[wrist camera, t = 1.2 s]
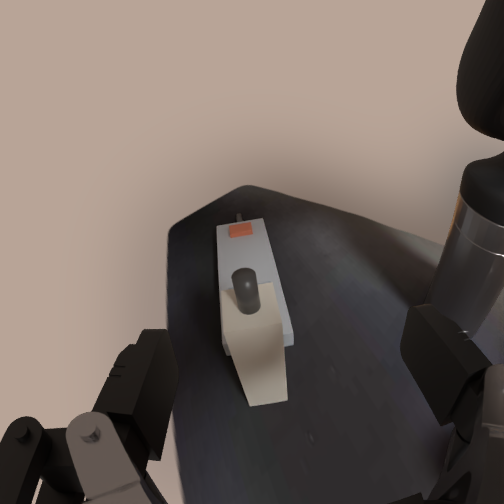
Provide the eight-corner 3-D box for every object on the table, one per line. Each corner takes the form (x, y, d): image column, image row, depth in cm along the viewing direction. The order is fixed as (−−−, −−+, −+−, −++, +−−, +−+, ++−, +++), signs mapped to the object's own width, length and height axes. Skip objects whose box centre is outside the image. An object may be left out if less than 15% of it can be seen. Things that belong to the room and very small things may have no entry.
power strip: (218, 222, 56) (215, 207, 54) (260, 215, 56) (258, 200, 54) (226, 355, 34) (221, 340, 32) (293, 344, 34) (293, 328, 32)
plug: (245, 374, 31) (212, 261, 21) (281, 369, 32) (269, 251, 21) (249, 406, 28) (213, 303, 18) (287, 400, 28) (279, 292, 18)
